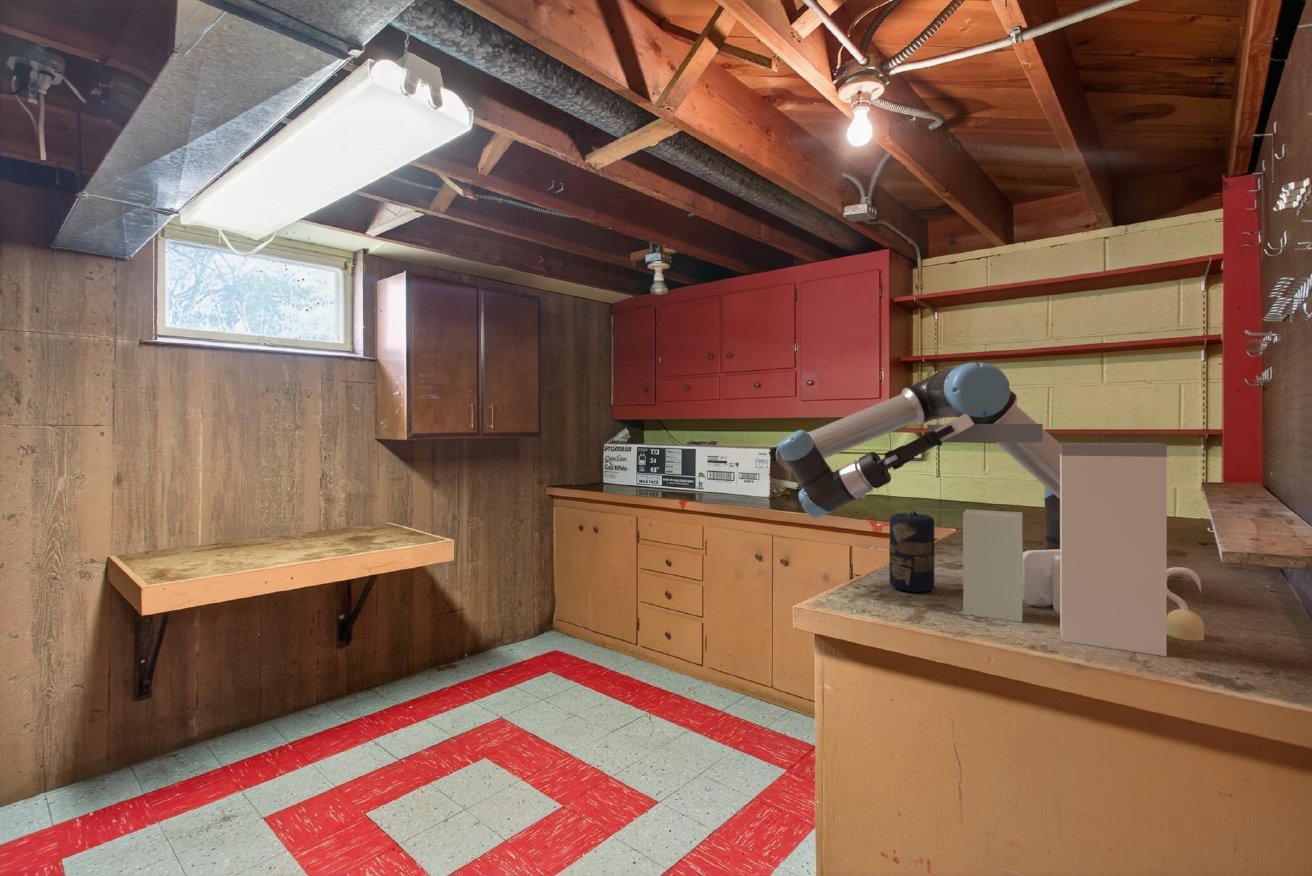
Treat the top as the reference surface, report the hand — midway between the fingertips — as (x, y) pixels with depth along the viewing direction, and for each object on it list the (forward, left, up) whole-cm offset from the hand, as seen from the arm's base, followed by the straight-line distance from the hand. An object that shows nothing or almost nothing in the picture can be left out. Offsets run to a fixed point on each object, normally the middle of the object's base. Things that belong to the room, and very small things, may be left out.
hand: (970, 419), depth 123 cm
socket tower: (+8, +22, -38) cm, 45 cm away
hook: (-2, +33, -39) cm, 51 cm away
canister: (-12, -13, -39) cm, 43 cm away
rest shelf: (0, +4, -38) cm, 39 cm away
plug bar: (0, +2, -4) cm, 5 cm away
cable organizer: (-10, +17, -39) cm, 44 cm away
